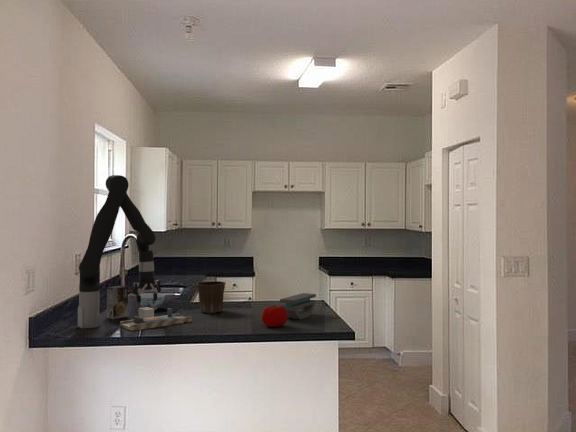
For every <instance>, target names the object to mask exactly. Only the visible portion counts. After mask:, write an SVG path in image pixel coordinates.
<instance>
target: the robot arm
mask: <svg viewBox="0 0 576 432" xmlns="http://www.w3.org/2000/svg"><path fill="white" fill-rule="evenodd" d="M105 187H106V189H107V191H108V193H107V197H106V200H105V202H104V204H103V205H102V206H101V208H100V209H99V211H98V213H97V214H96V216H95V220H94V222H93V225H92V228H91V231H90V235H89V236H90V237H89V241H88V245H87V248H86V250H85V253H84V255H83V258H82V259H81V261H80V263H79V265H78V270H79V283H78V285H79V286H78V288H79V289H78V293H79V294H78V295H79V296H78V297H79V298H78V300H79V301H78V306H77V327H78V328H80V329H93V328H98V327H100V325H101V323H100V315H101V311H100V310H101V309H100V308H101V307H100V306H101V304H100V303H101V302H100V300H101V297H100V295H101V294H100V292H101V291H100V288H101V287H100V286H101V261H102V257H103V254H104V250H105V248H106V246H107V244H108V242H109V240H110V238H111V236H112V234H113V231H114V227H115V225H116V221H117V219H118V218H117V217H118V215H119V212H120V209H121V210H122V212H123V214H124V216H125V218H127V221H128V222H129V225H130V226H131V228H132V230H134V231H136V232H138V233H137V235H136V240H135V241H136V246H137V250H138V255H139V257H138V258H139V261H138V262H139V263H138V280H139V281H138V282H133V283H132V294H133V295H135V296H136V302H137V303H138V304H140V303H141V296H140V295H142V293H143V292H144V291H150V290H151V292H153V293H152V294H153V301H156V300H157V294H159V293H161V291H162V290H161V289H162V287H161V281H160V280H159V279H158V280H155V263H154V250H152V249H151V248H150V246H151V245H153V244H155V242H156V234H155V232H154V231H153V230H152V228H151V227H150V225H148V224H147V223H146V221H145V219H144V217H143V215H142V213H141V211H140V210H139V208H138V207H137V206H136V205H135V204H134V202H133V201H132V200H131V198H130V197H129V195H128V193H127V192H128V189H129V180H128V178H127V177H126V176H124V175H120V174H111V175H109V176H108V177H107V178H106V180H105ZM155 286H156V287H155ZM138 287H139V288H138Z"/></svg>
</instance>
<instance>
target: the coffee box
mask: <svg viewBox="0 0 576 432" xmlns="http://www.w3.org/2000/svg"><path fill="white" fill-rule="evenodd" d="M128 291H129V287H128V286H126V285H116V286H109V287H106V318H107V319H110V320H115V319H121V318H126V317H127V318H128V317H129V292H128Z"/></svg>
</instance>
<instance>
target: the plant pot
mask: <svg viewBox="0 0 576 432" xmlns="http://www.w3.org/2000/svg"><path fill="white" fill-rule="evenodd" d="M226 283H227V282H225V281H217V280H215V281H212V280H211V281H201V282H196V286H197V291H198V300H199V307H200V308H199V311H200V313H202V312H203V313H202V314H210V313H211V314H217V313H216V312H219V313H222V312H223V306H224V305H223V304H224V292H225V288H226ZM204 312H205V313H204Z"/></svg>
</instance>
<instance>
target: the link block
mask: <svg viewBox="0 0 576 432" xmlns="http://www.w3.org/2000/svg"><path fill="white" fill-rule="evenodd" d="M138 317H140V318H148V317H155V310H154V309H153V308H149V307H139V308H138Z"/></svg>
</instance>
